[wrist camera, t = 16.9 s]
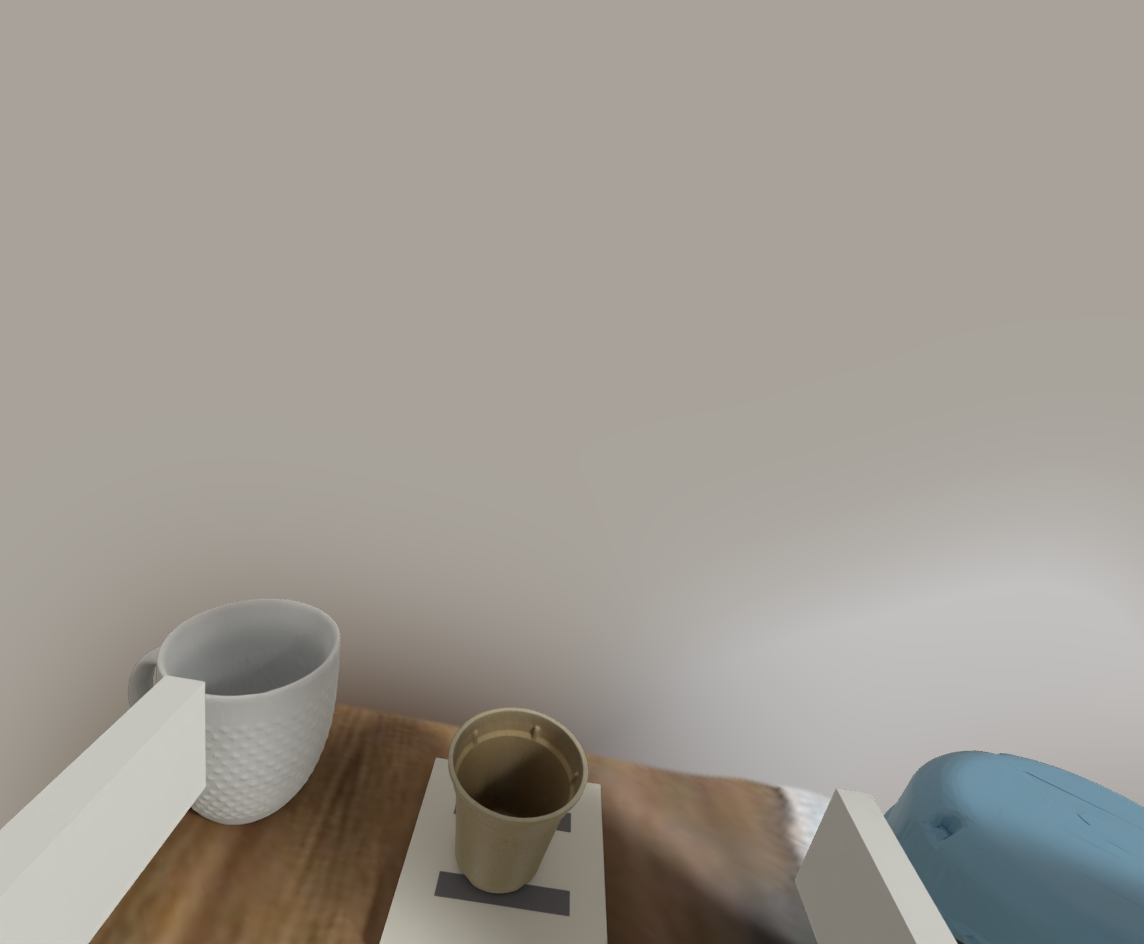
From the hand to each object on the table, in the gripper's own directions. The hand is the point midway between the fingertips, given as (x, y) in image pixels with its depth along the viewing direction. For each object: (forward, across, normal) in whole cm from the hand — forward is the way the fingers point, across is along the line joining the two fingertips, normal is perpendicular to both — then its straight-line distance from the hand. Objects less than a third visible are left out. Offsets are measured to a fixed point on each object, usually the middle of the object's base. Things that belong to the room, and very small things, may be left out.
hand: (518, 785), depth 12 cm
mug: (+24, -19, -30) cm, 43 cm away
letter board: (+21, +2, -30) cm, 37 cm away
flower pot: (+21, +1, -29) cm, 36 cm away
